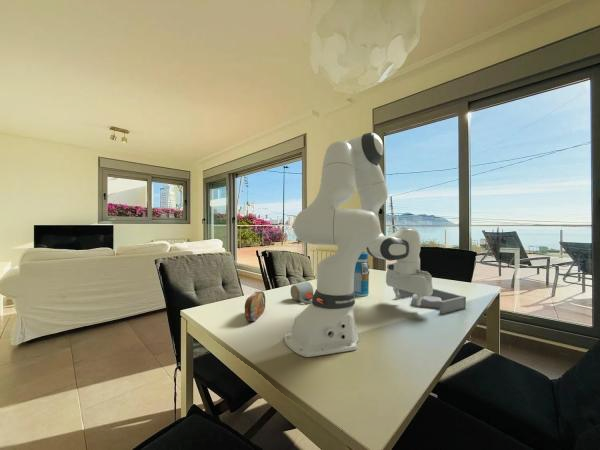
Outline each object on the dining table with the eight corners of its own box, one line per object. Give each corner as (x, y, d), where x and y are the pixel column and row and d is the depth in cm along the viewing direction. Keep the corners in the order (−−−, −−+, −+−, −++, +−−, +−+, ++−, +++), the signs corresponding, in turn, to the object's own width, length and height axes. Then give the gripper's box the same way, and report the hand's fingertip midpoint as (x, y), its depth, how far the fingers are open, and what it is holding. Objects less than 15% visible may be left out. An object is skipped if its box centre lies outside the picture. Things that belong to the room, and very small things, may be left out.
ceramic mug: (289, 299, 118) (289, 282, 118) (304, 296, 123) (304, 279, 122) (302, 306, 109) (302, 287, 109) (318, 302, 114) (318, 285, 113)
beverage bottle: (349, 295, 124) (350, 253, 124) (352, 290, 132) (352, 251, 132) (368, 297, 121) (368, 254, 121) (369, 292, 129) (370, 251, 129)
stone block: (410, 303, 119) (411, 306, 109) (411, 292, 119) (412, 294, 110) (440, 308, 114) (444, 311, 105) (440, 296, 115) (444, 298, 106)
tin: (251, 325, 89) (251, 300, 89) (242, 324, 90) (242, 299, 89) (266, 310, 104) (266, 288, 104) (258, 309, 104) (258, 288, 104)
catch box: (442, 314, 101) (442, 302, 100) (395, 298, 120) (395, 288, 120) (465, 307, 108) (465, 296, 108) (418, 293, 127) (418, 284, 127)
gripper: (436, 271, 99) (436, 308, 100) (394, 263, 117) (393, 294, 118) (425, 273, 96) (425, 310, 97) (383, 264, 114) (383, 296, 115)
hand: (407, 301), depth 107 cm, fingers open, 8 cm apart
